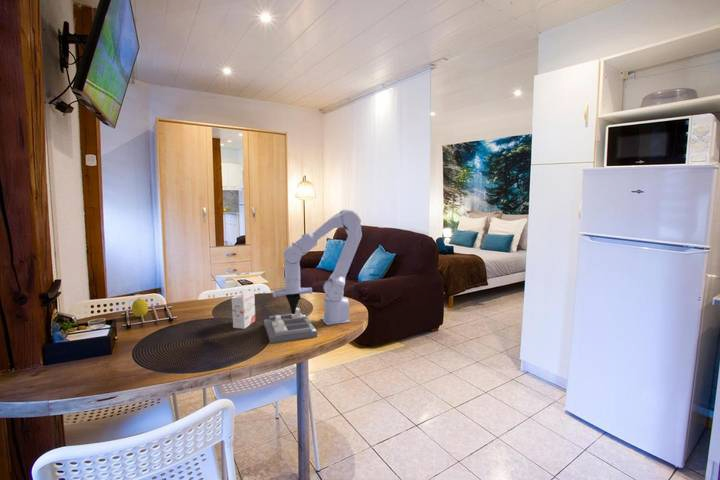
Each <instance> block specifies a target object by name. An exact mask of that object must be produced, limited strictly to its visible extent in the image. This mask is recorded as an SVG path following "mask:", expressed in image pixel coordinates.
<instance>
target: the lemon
mask: <svg viewBox="0 0 720 480" xmlns="http://www.w3.org/2000/svg"><path fill="white" fill-rule="evenodd" d="M148 311H149V304H148V302H147V301H146V299H144V298H141V297H138V298H137V299H136V300H134V301H133V302H132V304H131V312H132V314H133V315H134V316H136V317H138V318H140V317H139V316H140V315H142V317H144V316H145V315H147V313H148Z"/></svg>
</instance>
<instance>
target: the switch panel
mask: <svg viewBox="0 0 720 480" xmlns="http://www.w3.org/2000/svg"><path fill="white" fill-rule="evenodd" d="M279 315H280V316H281V320H283V322H284V324H285V325H284V326H286V328H287V330H288V331H281V332H276V334H275V332H274V329H273V327H272V322H275V315H270V316H269V319H267V318H266V319H263V325H264V329H265V332H266V334H267V337H268V340H269V343H270V344H277V343H283V342H290V341H297V340H305V339H311V338H317V337H318V330H317V329H316V328H315V326H314V324H313V323H312V322H311V320H310V319H309V318H308V316H307V315H306V314H302V315H303V316H304V317H302V318H294V319H292V318H291V315H292V313H287V314H279ZM274 327H278V326H274Z"/></svg>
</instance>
